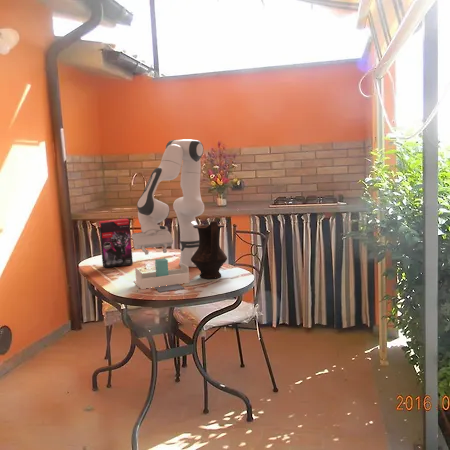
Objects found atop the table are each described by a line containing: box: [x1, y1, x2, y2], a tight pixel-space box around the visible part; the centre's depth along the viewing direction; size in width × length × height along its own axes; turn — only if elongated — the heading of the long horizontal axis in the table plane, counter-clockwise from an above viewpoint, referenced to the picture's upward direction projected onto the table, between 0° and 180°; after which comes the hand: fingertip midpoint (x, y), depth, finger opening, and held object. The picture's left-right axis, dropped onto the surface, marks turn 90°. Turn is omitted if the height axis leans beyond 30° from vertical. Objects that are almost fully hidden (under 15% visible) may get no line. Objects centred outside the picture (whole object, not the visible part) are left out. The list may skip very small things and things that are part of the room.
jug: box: [191, 220, 228, 280], centre depth 255 cm, size 21×18×30 cm
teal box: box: [154, 258, 169, 277], centre depth 248 cm, size 5×5×12 cm
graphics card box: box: [98, 218, 134, 269], centre depth 295 cm, size 17×7×27 cm, turn 115°
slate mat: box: [153, 284, 185, 293], centre depth 238 cm, size 12×9×1 cm
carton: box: [133, 262, 190, 290], centre depth 251 cm, size 24×18×8 cm
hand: (156, 253), depth 255 cm, fingers open, 8 cm apart
